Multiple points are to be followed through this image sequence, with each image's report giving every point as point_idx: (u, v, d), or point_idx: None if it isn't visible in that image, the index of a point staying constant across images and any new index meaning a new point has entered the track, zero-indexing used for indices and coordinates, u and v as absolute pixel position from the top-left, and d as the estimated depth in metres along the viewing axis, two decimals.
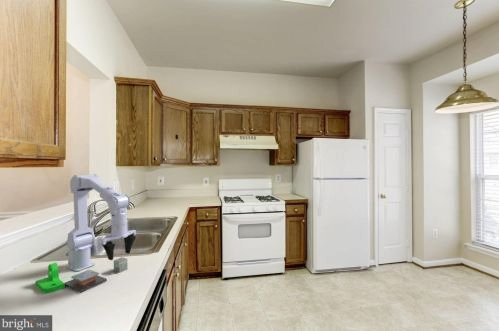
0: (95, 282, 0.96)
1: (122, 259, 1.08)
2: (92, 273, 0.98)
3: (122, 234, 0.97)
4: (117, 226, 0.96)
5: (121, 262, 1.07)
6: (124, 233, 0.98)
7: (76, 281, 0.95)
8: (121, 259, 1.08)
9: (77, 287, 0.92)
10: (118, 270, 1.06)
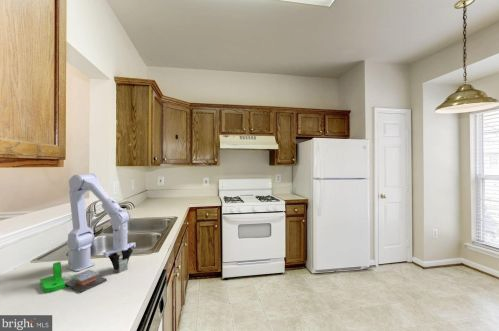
0: (95, 282, 0.96)
1: (122, 259, 1.09)
2: (92, 273, 0.98)
3: (123, 247, 1.07)
4: (118, 240, 1.05)
5: (121, 262, 1.07)
6: (125, 246, 1.07)
7: (76, 281, 0.95)
8: (121, 259, 1.08)
9: (77, 287, 0.92)
10: (118, 270, 1.06)
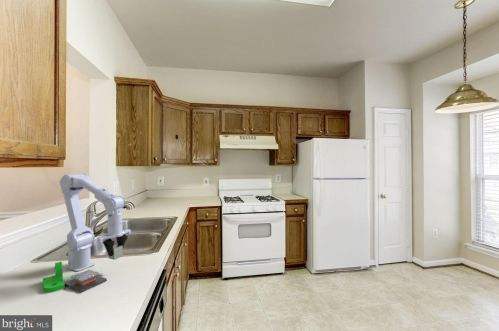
0: (95, 282, 0.96)
1: (117, 246, 1.06)
2: (92, 273, 0.98)
3: (118, 233, 1.05)
4: (113, 226, 1.03)
5: (116, 249, 1.05)
6: (119, 232, 1.05)
7: (76, 281, 0.95)
8: (116, 246, 1.06)
9: (77, 287, 0.92)
10: (113, 257, 1.04)
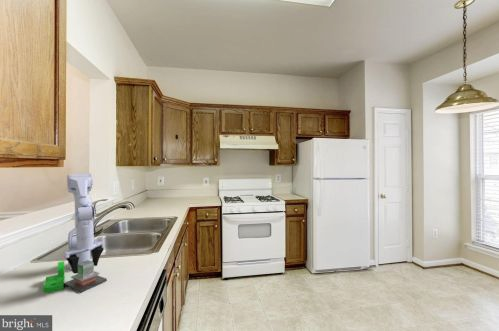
0: (95, 282, 0.96)
1: (87, 262, 0.97)
2: None
3: (87, 246, 0.95)
4: (82, 238, 0.94)
5: (85, 266, 0.95)
6: (90, 245, 0.96)
7: (76, 281, 0.95)
8: (86, 262, 0.97)
9: (77, 287, 0.92)
10: (82, 275, 0.94)
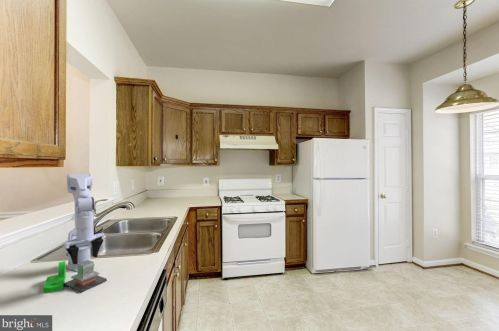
0: (95, 282, 0.96)
1: (87, 262, 0.97)
2: None
3: (87, 237, 0.95)
4: (82, 229, 0.94)
5: (85, 266, 0.95)
6: (90, 236, 0.96)
7: (76, 281, 0.95)
8: (86, 262, 0.97)
9: (77, 287, 0.92)
10: (82, 275, 0.94)
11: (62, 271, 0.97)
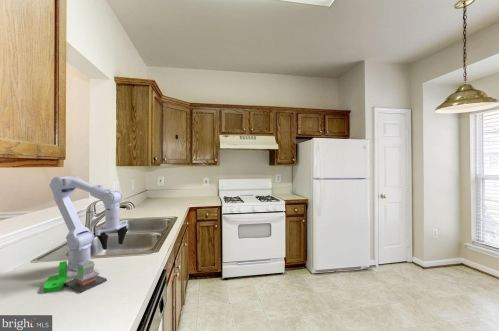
0: (95, 282, 0.96)
1: (87, 262, 0.97)
2: None
3: (115, 226, 1.08)
4: (110, 219, 1.07)
5: (85, 266, 0.95)
6: (117, 225, 1.09)
7: (76, 281, 0.95)
8: (86, 262, 0.97)
9: (77, 287, 0.92)
10: (82, 275, 0.94)
11: (62, 271, 0.97)
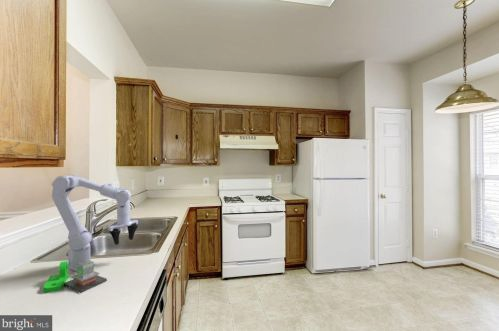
0: (95, 282, 0.96)
1: (87, 262, 0.97)
2: None
3: (126, 223, 1.14)
4: (122, 216, 1.13)
5: (85, 266, 0.95)
6: (128, 222, 1.15)
7: (76, 281, 0.95)
8: (86, 262, 0.97)
9: (77, 287, 0.92)
10: (82, 275, 0.94)
11: (63, 271, 0.97)
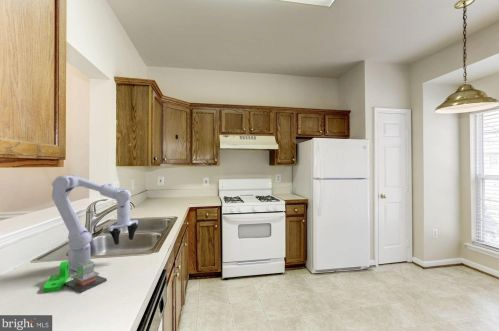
0: (95, 282, 0.96)
1: (87, 262, 0.97)
2: None
3: (126, 223, 1.14)
4: (122, 216, 1.13)
5: (85, 266, 0.95)
6: (128, 222, 1.15)
7: (76, 281, 0.95)
8: (86, 262, 0.97)
9: (77, 287, 0.92)
10: (82, 275, 0.94)
11: (63, 271, 0.97)
